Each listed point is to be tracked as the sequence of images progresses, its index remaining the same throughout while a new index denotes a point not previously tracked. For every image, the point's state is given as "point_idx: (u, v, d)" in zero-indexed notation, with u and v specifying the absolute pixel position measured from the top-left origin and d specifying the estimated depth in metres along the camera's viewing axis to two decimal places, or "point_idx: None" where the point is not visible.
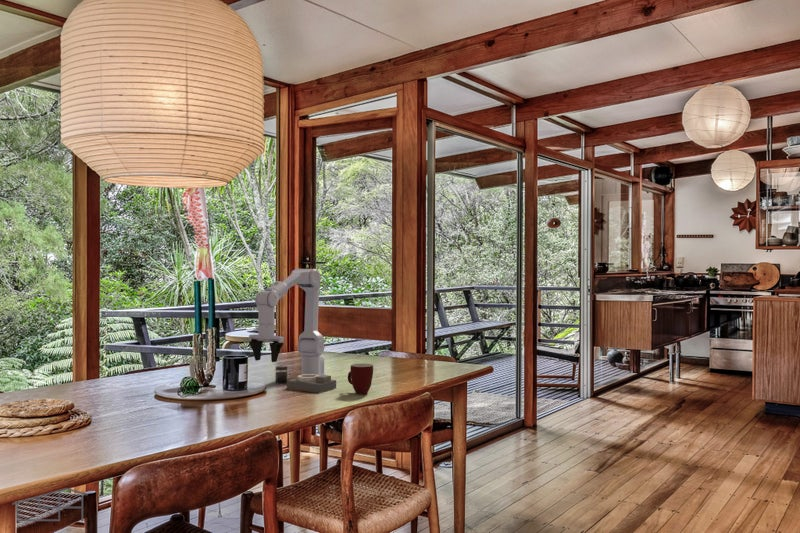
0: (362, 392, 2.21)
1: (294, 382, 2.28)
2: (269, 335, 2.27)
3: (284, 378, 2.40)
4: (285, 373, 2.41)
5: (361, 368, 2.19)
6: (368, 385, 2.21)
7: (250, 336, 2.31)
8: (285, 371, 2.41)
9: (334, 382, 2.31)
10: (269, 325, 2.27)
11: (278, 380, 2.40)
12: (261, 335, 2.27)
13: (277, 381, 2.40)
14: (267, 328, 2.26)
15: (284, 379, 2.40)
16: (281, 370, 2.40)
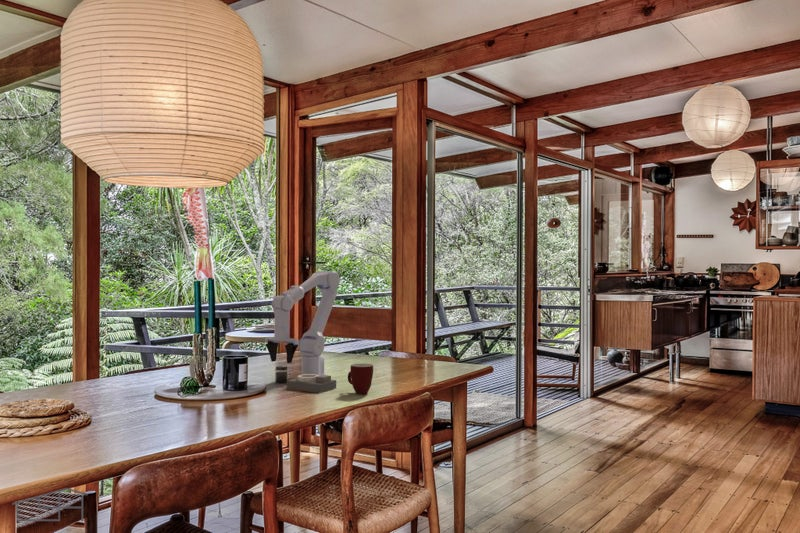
0: (362, 392, 2.21)
1: (294, 382, 2.28)
2: (285, 337, 2.40)
3: (284, 378, 2.40)
4: (285, 373, 2.41)
5: (361, 368, 2.19)
6: (368, 385, 2.21)
7: (266, 338, 2.44)
8: (285, 371, 2.41)
9: (334, 382, 2.31)
10: (285, 328, 2.40)
11: (278, 380, 2.40)
12: (277, 337, 2.39)
13: (277, 381, 2.40)
14: (283, 331, 2.39)
15: (284, 379, 2.40)
16: (281, 370, 2.40)
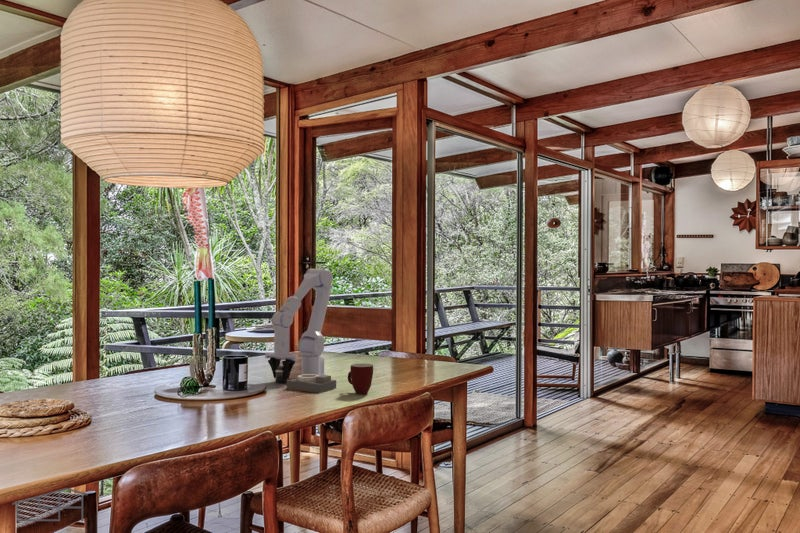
0: (362, 392, 2.21)
1: (294, 382, 2.28)
2: (284, 354, 2.40)
3: None
4: None
5: (361, 368, 2.19)
6: (368, 385, 2.21)
7: (266, 354, 2.44)
8: None
9: (334, 382, 2.31)
10: (284, 344, 2.40)
11: (278, 380, 2.40)
12: (277, 354, 2.39)
13: (277, 381, 2.40)
14: (283, 347, 2.39)
15: (284, 379, 2.40)
16: (281, 370, 2.40)
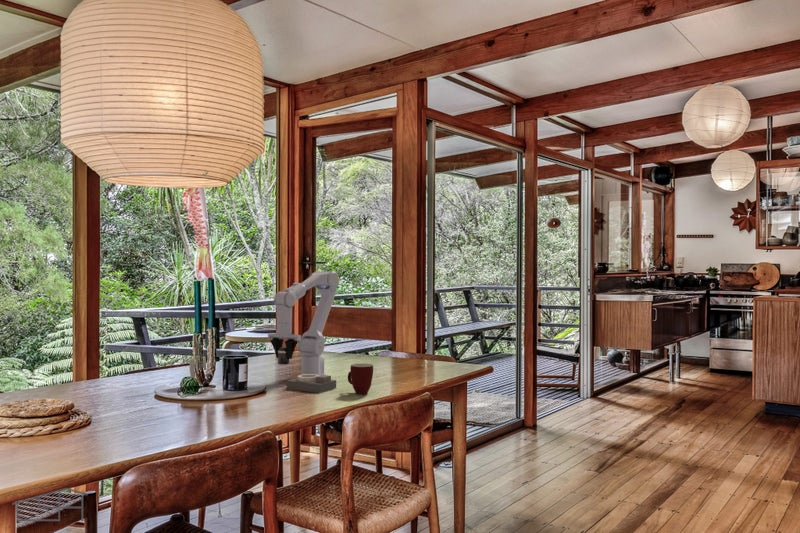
0: (362, 392, 2.21)
1: (294, 382, 2.28)
2: (287, 334, 2.39)
3: (287, 359, 2.39)
4: None
5: (361, 368, 2.19)
6: (368, 385, 2.21)
7: (269, 334, 2.43)
8: None
9: (334, 382, 2.31)
10: (287, 324, 2.39)
11: (280, 361, 2.39)
12: (279, 334, 2.38)
13: (279, 362, 2.39)
14: (285, 327, 2.38)
15: (286, 360, 2.39)
16: (283, 351, 2.39)
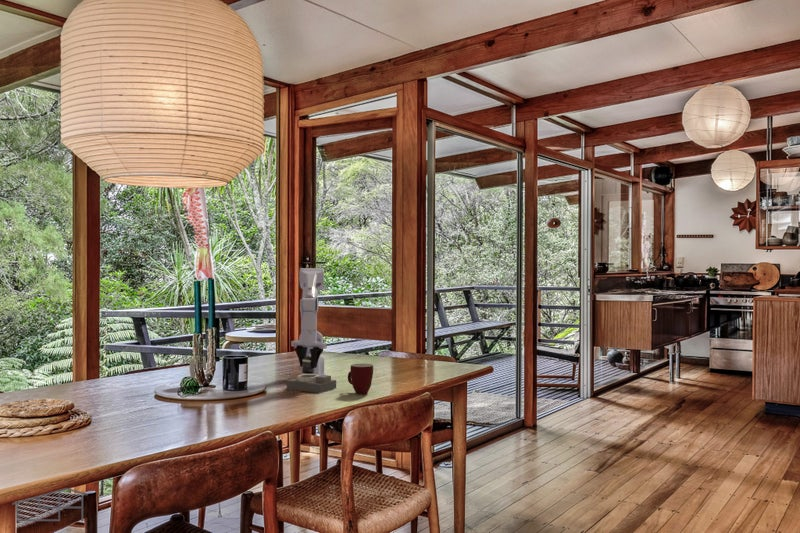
0: (362, 392, 2.21)
1: (294, 382, 2.28)
2: (312, 341, 2.29)
3: (312, 368, 2.30)
4: None
5: (361, 368, 2.19)
6: (368, 385, 2.21)
7: (292, 342, 2.33)
8: None
9: (334, 382, 2.31)
10: (312, 331, 2.29)
11: (305, 370, 2.29)
12: (304, 341, 2.29)
13: (304, 371, 2.29)
14: (310, 334, 2.29)
15: (311, 369, 2.30)
16: (309, 360, 2.29)
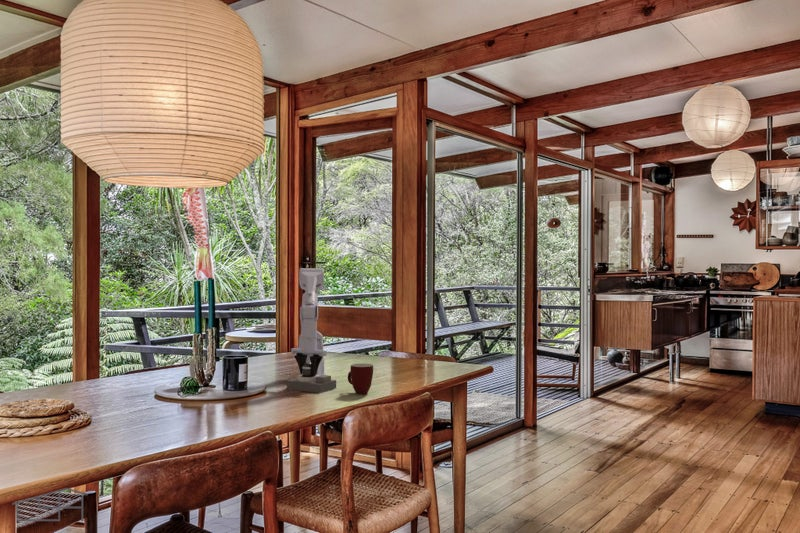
0: (362, 392, 2.21)
1: (294, 382, 2.28)
2: (312, 349, 2.29)
3: None
4: None
5: (361, 368, 2.19)
6: (368, 385, 2.21)
7: (292, 350, 2.33)
8: None
9: (334, 382, 2.31)
10: (312, 339, 2.29)
11: None
12: (304, 349, 2.29)
13: None
14: (310, 342, 2.29)
15: (312, 376, 2.30)
16: (309, 367, 2.29)
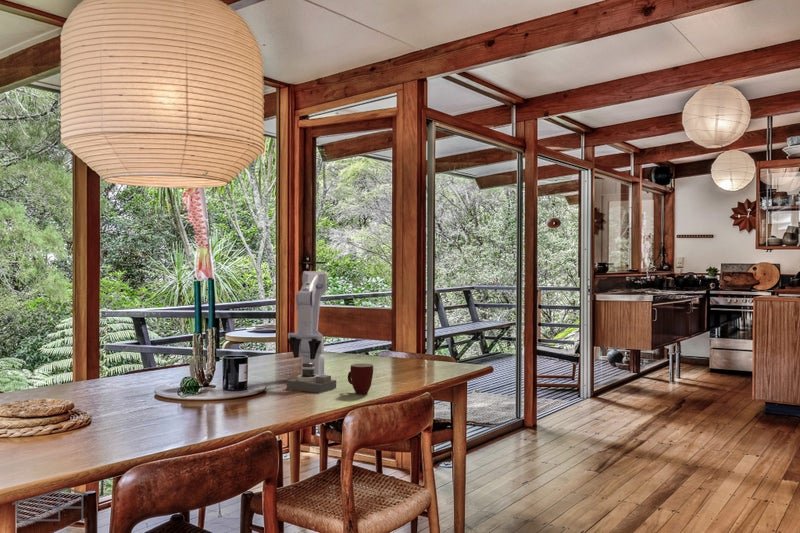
0: (362, 392, 2.21)
1: (294, 382, 2.28)
2: (308, 333, 2.36)
3: (312, 375, 2.30)
4: (312, 370, 2.30)
5: (361, 368, 2.19)
6: (368, 385, 2.21)
7: (289, 334, 2.40)
8: (313, 368, 2.30)
9: (334, 382, 2.31)
10: (308, 324, 2.36)
11: None
12: (300, 333, 2.36)
13: None
14: (306, 327, 2.36)
15: (311, 376, 2.30)
16: (308, 367, 2.29)
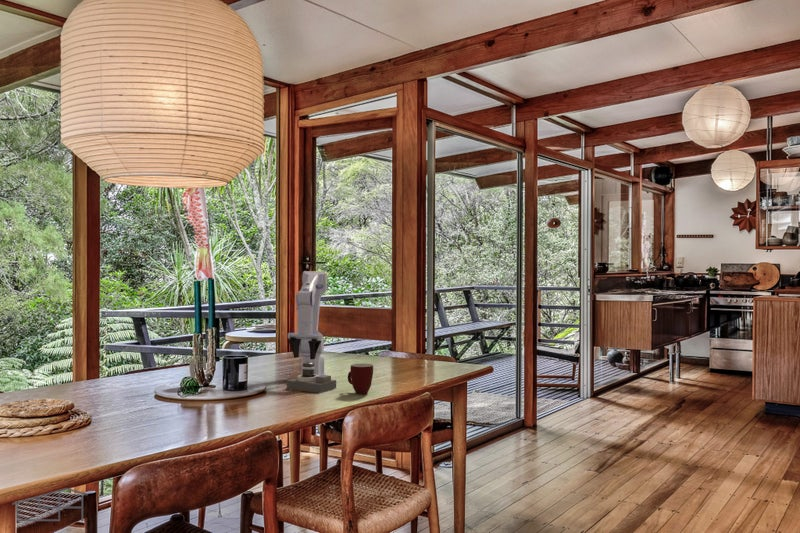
0: (362, 392, 2.21)
1: (294, 382, 2.28)
2: (308, 333, 2.36)
3: (312, 375, 2.30)
4: (313, 370, 2.30)
5: (361, 368, 2.19)
6: (368, 385, 2.21)
7: (289, 334, 2.40)
8: (313, 368, 2.30)
9: (334, 382, 2.31)
10: (308, 324, 2.36)
11: None
12: (300, 333, 2.36)
13: None
14: (306, 327, 2.36)
15: (311, 376, 2.30)
16: (309, 367, 2.29)
